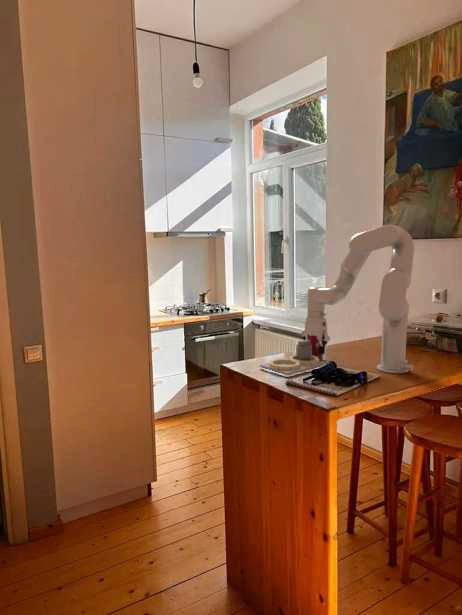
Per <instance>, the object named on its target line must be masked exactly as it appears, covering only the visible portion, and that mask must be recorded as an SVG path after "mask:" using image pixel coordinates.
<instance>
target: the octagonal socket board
mask: <svg viewBox="0 0 462 615" xmlns="http://www.w3.org/2000/svg"><path fill="white" fill-rule="evenodd" d="M327 363H328V364H329V361H328V362H327V361H324V360H321V361H320V360H319V358H318V357H317V356H313V355H312V360H311V361H299V360H296V354H294V355H290V356H288V358H274V359H271V360H269V362H266V363H262V364H259V368H260V367H262V368H265V369H269V370H272V371H275V372H278V373H282V374H285V375H291V374H294V373H298V372H303V371H306V370H310V369H314V368H317V367H320V366H322V365H324V364H327Z"/></svg>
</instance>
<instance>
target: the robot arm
mask: <svg viewBox="0 0 462 615" xmlns="http://www.w3.org/2000/svg"><path fill="white" fill-rule="evenodd" d="M387 247H388V248H389V247H391V256H390V265H389V270H388V271H387V272H386V274H385V275H384V276H383V278H382V281H381V286H380V294H379V295H380V296H379V303H378V305H379V306H378V311H379V314H380V316H381V317H382V319H383V320H382V330H381V331H382V332H381V350H380V351H381V354H380V355H381V356H380V357H381V358H380V363H378V364H377V365H376V369H377V370H378V371H380V372H383V373H389V374H404V373H408V372H409V371H413V370H414V364H410V363H408V360H407V359H406V349H407V347H406V346H407V333H408V330H407V329H408V320H409V319H408V317H409V312H410V307H409V305H410V304H409V301H408V300H407V299H406V297H407V296H406V295H407V291H408V290H407V289H409V288H410V285H411V282H412V273H413V272H412V271H413V265H414V255H415V254H414V253H415V243H414V240H413V238H412V235H410V233H409V232H408V231H407V230H406V229H404V228H402V227H401V226H399V225H395V224H384V225H380V226H377V227H374V228H371V229H369V230H365V231H363V232H359V233H356V234H355V235H353V236H352V237H351V238H350V239H349V242H348V248H349V249H348V250H347V252H346V254H345V255H344V258H343V259H342V260H341V262H340V266H339V267H340V271H339V275H338V277H337V279H336V281H335V282H334V284H333V285H332V286H331V287H328V288H325V287H322V286H310V287H308V290H307V310H306V311H307V313H306V314H307V316H306V318H305V322H304V330H303V331H301V332H300V336H302V339H303V340H307V334H311V335H316V336H317V339H318V340H319V343H320V346H319V355H322V354H323V355H325V354H326V353H325V352H326V346H327V344H328V343H329V341H330V340H331V336H330V335H329V334H328V323H327V319H326V316H327V313H326V312H325V309H326V308H325V306H326V305H328V306H335V305H336V304H337V305H338V304H339V303H341V302H343V301H344V300H345V299H346V298H347V296H348V294H349V293H350V291H351V289H352V288H353V285H354V284H355V282H356V280H357V277H358V274H359V273H360V272H361V270H362V268H363V266H364V264H365V263H366V261H367V260H368V259H369V256H370V255H371V253H372V252H375V251H378V250H380V249H384V248H387ZM322 337H323V339H322ZM322 340H323V343H322Z"/></svg>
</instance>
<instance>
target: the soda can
mask: <svg viewBox="0 0 462 615" xmlns="http://www.w3.org/2000/svg"><path fill="white" fill-rule="evenodd" d="M322 339H323V337H322ZM307 340H309V341H310V345H312V355H313V356H317V357H318V358H319V360H321V361H323V359H324V354H322V355H319V346H320V343H319V340H318V339H317V336H316V335H311V334H307ZM322 343H323V340H322Z"/></svg>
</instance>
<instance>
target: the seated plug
mask: <svg viewBox="0 0 462 615" xmlns="http://www.w3.org/2000/svg"><path fill="white" fill-rule="evenodd" d="M295 350H296V351H295V353H296V354H295V355H296V360H299V361H311V360H312V345H310V341H309V340H304V339H303V340H298V341H297V344H296V349H295Z"/></svg>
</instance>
